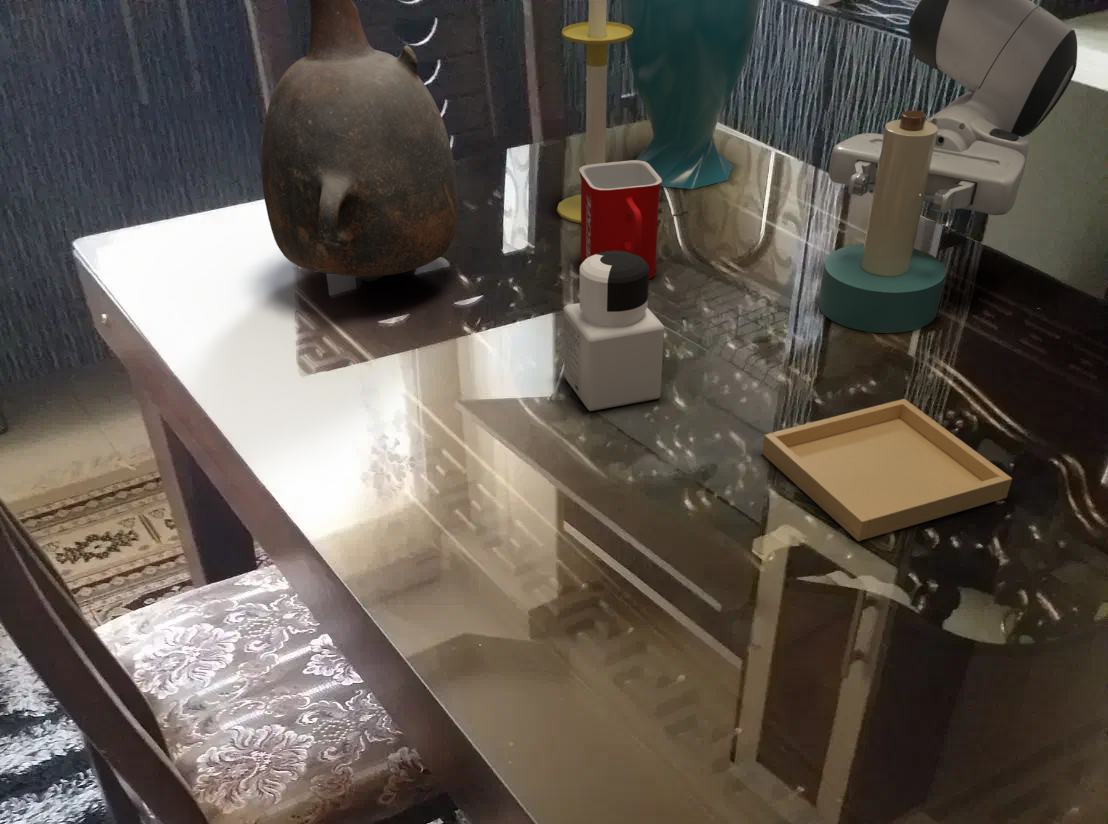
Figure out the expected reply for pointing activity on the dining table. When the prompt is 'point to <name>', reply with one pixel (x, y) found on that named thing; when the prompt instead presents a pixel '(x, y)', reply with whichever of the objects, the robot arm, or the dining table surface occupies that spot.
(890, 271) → the canister
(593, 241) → the mug
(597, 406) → the container
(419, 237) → the jug
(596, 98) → the candle
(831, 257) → the stand
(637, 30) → the vase
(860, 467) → the tray
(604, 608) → the dining table surface
